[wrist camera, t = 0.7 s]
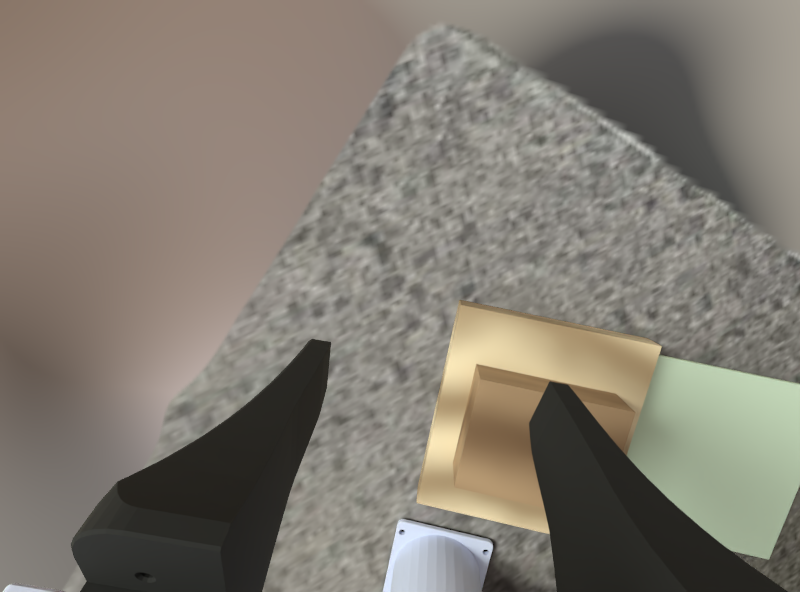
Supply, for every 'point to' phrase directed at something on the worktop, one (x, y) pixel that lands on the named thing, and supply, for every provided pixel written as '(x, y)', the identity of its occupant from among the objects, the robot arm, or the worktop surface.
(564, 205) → the worktop surface
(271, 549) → the robot arm
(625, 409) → the walnut tile
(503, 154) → the worktop surface
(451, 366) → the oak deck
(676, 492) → the sage mat
